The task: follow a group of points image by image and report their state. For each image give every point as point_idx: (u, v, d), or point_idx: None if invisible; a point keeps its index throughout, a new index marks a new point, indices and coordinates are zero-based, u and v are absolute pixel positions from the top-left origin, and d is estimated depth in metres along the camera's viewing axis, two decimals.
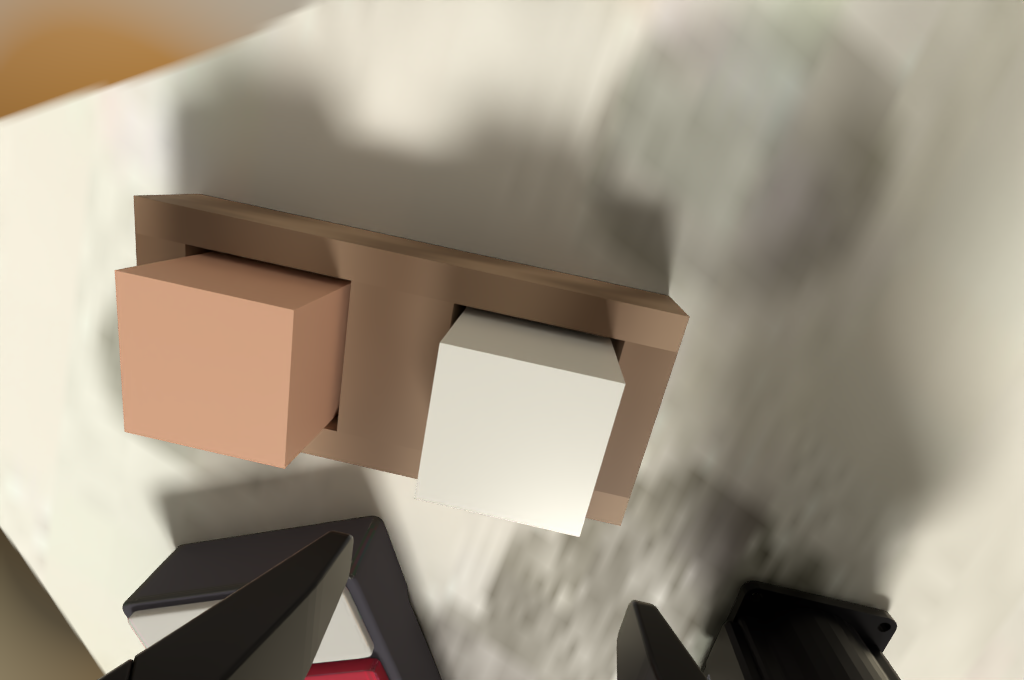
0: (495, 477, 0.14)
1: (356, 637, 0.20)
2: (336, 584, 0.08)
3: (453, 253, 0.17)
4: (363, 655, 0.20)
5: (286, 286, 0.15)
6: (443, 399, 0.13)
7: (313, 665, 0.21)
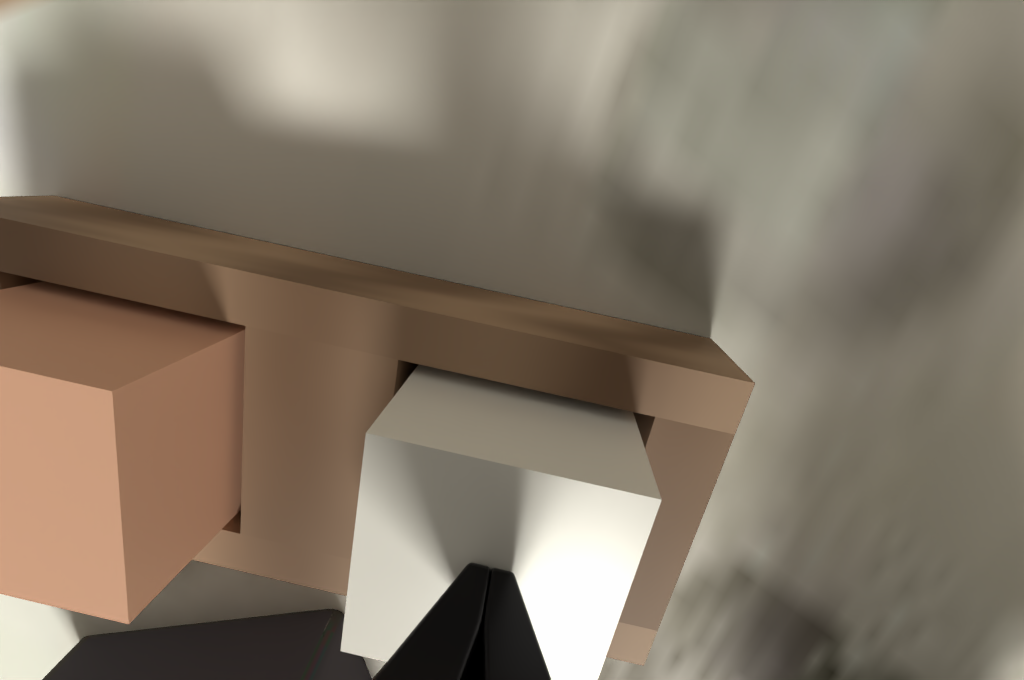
0: None
1: None
2: None
3: (404, 280, 0.12)
4: None
5: (135, 338, 0.10)
6: (376, 515, 0.09)
7: None
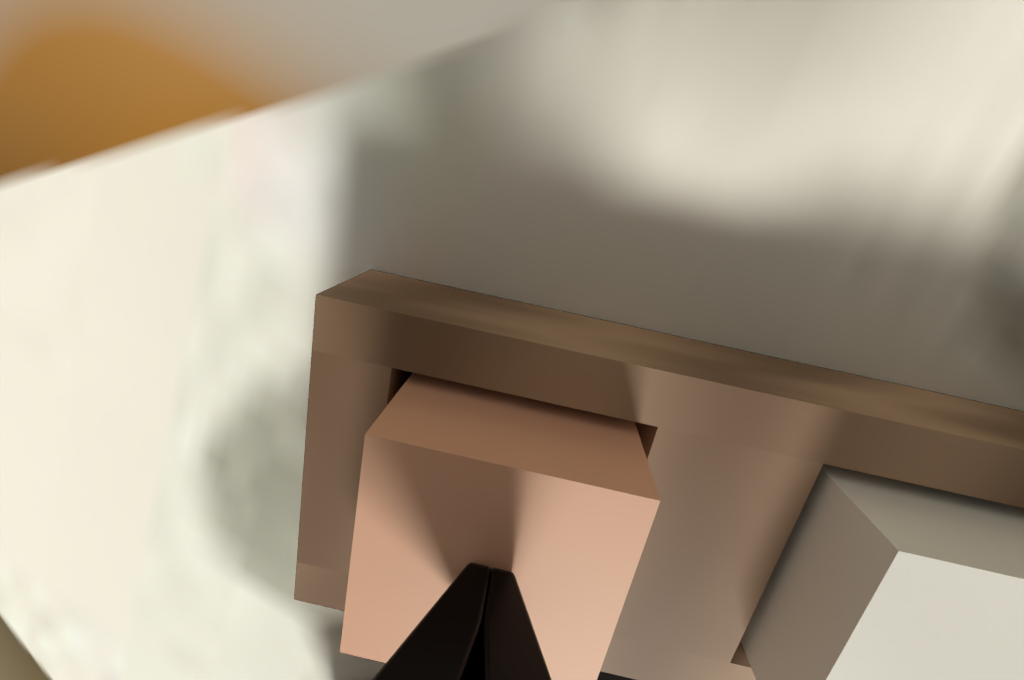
0: None
1: None
2: None
3: (771, 366, 0.11)
4: None
5: (580, 429, 0.10)
6: (877, 628, 0.08)
7: None
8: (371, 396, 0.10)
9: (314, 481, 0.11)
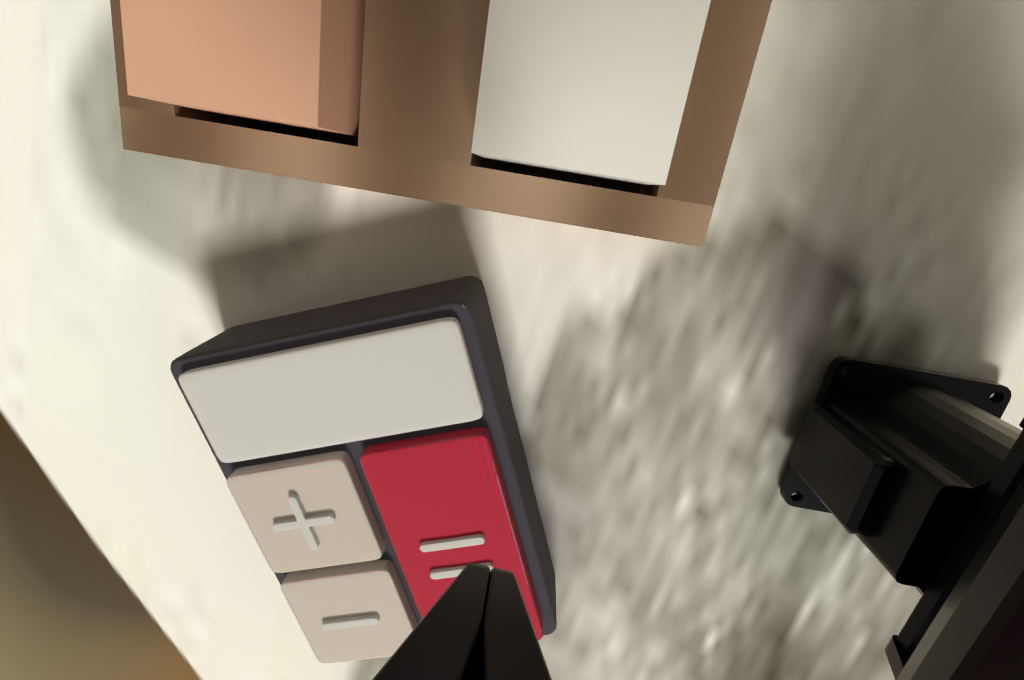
0: (566, 109, 0.12)
1: (466, 389, 0.16)
2: None
3: None
4: (472, 416, 0.16)
5: None
6: (505, 0, 0.11)
7: (405, 440, 0.17)
8: None
9: (120, 15, 0.14)
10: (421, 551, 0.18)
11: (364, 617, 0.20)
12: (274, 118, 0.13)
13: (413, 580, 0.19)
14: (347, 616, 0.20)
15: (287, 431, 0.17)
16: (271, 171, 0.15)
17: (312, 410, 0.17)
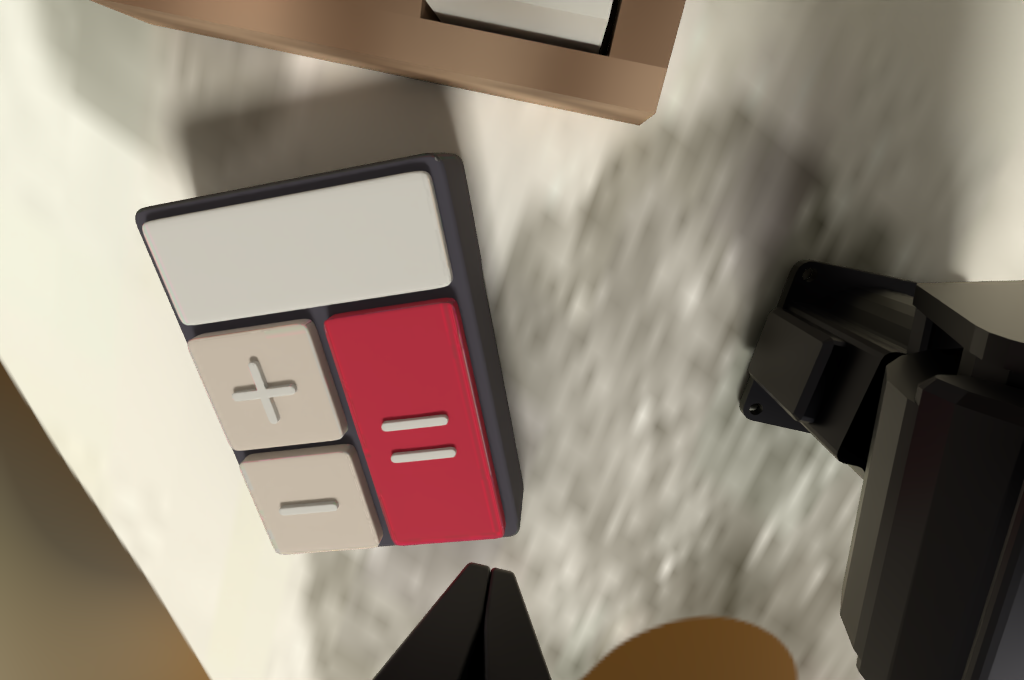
0: None
1: (435, 250, 0.16)
2: None
3: None
4: (440, 282, 0.16)
5: None
6: None
7: (371, 308, 0.17)
8: None
9: None
10: (383, 431, 0.18)
11: (323, 503, 0.19)
12: None
13: (374, 464, 0.19)
14: (306, 502, 0.19)
15: (251, 292, 0.17)
16: (220, 21, 0.15)
17: (277, 268, 0.16)
